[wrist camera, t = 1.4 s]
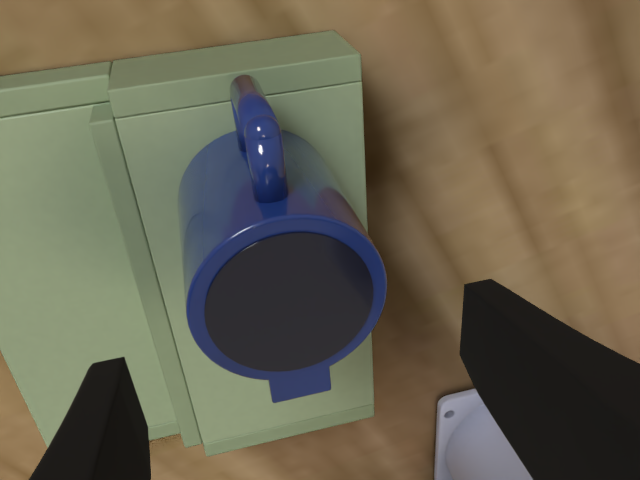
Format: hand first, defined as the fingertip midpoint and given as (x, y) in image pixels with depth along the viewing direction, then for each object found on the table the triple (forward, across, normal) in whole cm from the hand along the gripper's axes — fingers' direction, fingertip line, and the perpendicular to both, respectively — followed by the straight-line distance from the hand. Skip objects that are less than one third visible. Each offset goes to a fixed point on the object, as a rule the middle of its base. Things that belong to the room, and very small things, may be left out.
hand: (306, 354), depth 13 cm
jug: (+7, 0, 0) cm, 7 cm away
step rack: (+10, +3, +4) cm, 11 cm away
